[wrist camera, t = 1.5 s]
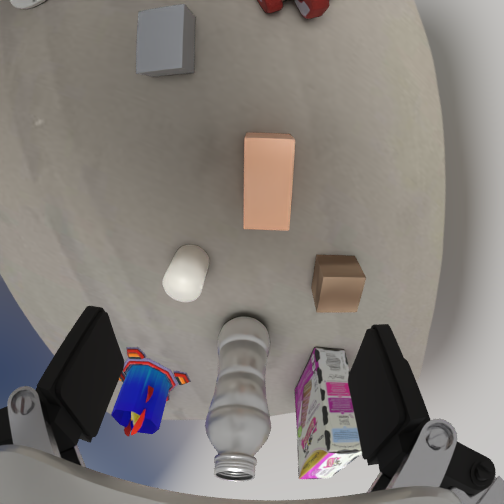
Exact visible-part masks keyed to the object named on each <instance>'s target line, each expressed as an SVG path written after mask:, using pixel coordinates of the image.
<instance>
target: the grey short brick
mask: <svg viewBox="0 0 504 504" xmlns="http://www.w3.org/2000/svg"><path fill="white" fill-rule="evenodd" d="M195 21H196V17H195V16H194V15H193V13H192V12H191V11H190V10H189V9H188V7H187V6H186V5H185V4H180V5H173V6H166V7H160V8H155V9H149V10H144V11H139V13H138V27H137V49H136V74H141V75H147V76H152V77H156V76H164V75H174V74H185V73H194V50H195Z"/></svg>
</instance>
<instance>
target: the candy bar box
mask: <svg viewBox="0 0 504 504" xmlns="http://www.w3.org/2000/svg"><path fill="white" fill-rule="evenodd" d="M349 373H350V371H349V366H348V363H347V358H346V354H345V350H341V349H329V348H317V347H316V348H314V350H313V353H312V355H311V357H310V359H309V362H308V364H307V366H306V368H305V370H304V372H303V374H302V376H301V379H300V381H299V383H298V385H297V387H296V389H295V405H296V420H297V446H298V465H299V466H298V467H299V468H298V472H299V479H321V478H330V477H332V476H333V475H334V474H336V473H337V472H339V470H341V469H343V468H344V467H345V466H346V465H348V464H349V463H350V462H352V461H353V460H354V459H355V458H357V457H358V456H359V455H361V454H362V451H361V445H360V440H359V435H358V430H357V424H356V419H355V415H354V410H353V405H352V400H351V396H350V391H349V386H348V376H349Z"/></svg>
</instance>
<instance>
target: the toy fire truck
mask: <svg viewBox="0 0 504 504" xmlns="http://www.w3.org/2000/svg"><path fill="white" fill-rule="evenodd" d="M257 1H258V2H259V4H260V6H261V7H262V9H263V10H264V11H265V12H266V13H272V12H275V11H279V10H281V9H282V8H283V2H282V1H287V0H257ZM294 1H295V3H296V5H297V7H298V9H299V10H300V12H301V14H302V15H303V17H305V18H307V19H309V18H314V17H319V16H322V15H323V13H324V12H325V11H326V10H327V9H328V7H329V0H294Z"/></svg>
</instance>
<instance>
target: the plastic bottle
mask: <svg viewBox="0 0 504 504" xmlns="http://www.w3.org/2000/svg"><path fill="white" fill-rule="evenodd" d="M269 348H270V339H269V335H268V331H267V329H266V327H265V326H264V325H263V324H262V323H261V322H259V321H258V320H256V319H254V318H251V317H237V318H234V319H232V320H230V321H228V322H227V323H226V324H225V325H224V326H223V327H222V329H221V332H220V334H219V336H218V355H219V361H218V378H217V383H216V387H215V392H214V396H213V399H212V402H211V405H210V408H209V411H208V415H207V418H206V423H205V427H206V433H207V436H208V438H209V440H210V442H211V444H212V445H213V446H214V448H215V449H216V451H217V452H218V455H216V456H215V459H214V463H215V468H214V475H215V476H216V477H217V478H220V479H223V480H227V481H248V480H252V479H254V476H255V466H256V462H257V460H256V458H255V457H254V455H255V454H256V453H257V452H258V451H259V449H260V448H261V447H262V445H264V443H265V442H266V440H267V439H268V436H269V434H270V431H271V422H270V416H269V411H268V405H267V399H266V387H265V372H266V362H267V357H268V354H269Z"/></svg>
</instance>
